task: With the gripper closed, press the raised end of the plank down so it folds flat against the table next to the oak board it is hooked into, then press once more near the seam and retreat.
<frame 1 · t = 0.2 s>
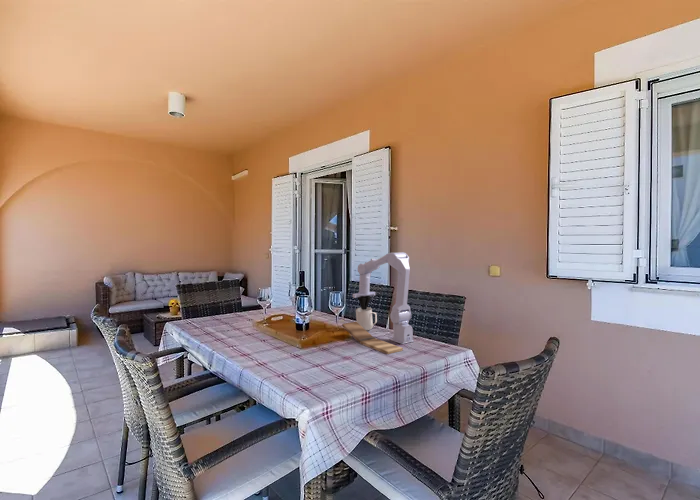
hand: (363, 309, 204), 11 cm above the table, tool pointing down, fingers closed, pressing on mug
mug: (367, 329, 204), on the table, touching gripper
plank: (357, 331, 186), point 3 cm above the table, hinge at 20.0°
oak board: (367, 341, 180), on the table
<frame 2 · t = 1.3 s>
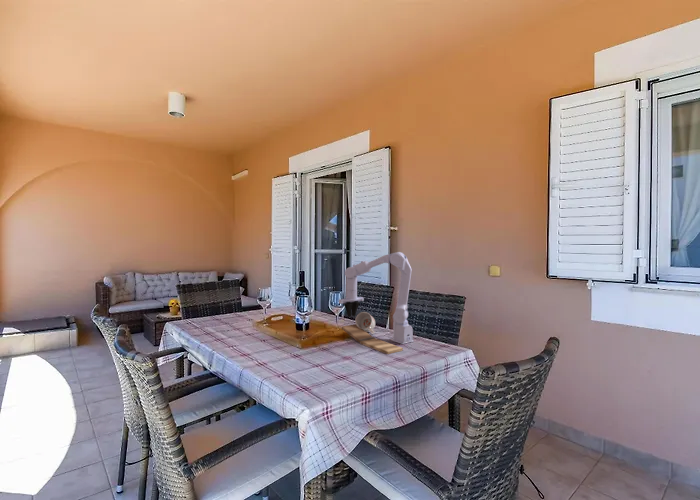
hand: (351, 316, 190), 10 cm above the table, tool pointing down, fingers closed
mug: (369, 325, 200), point 3 cm above the table, touching plank
plank: (357, 332, 186), point 3 cm above the table, hinge at 14.6°, touching mug
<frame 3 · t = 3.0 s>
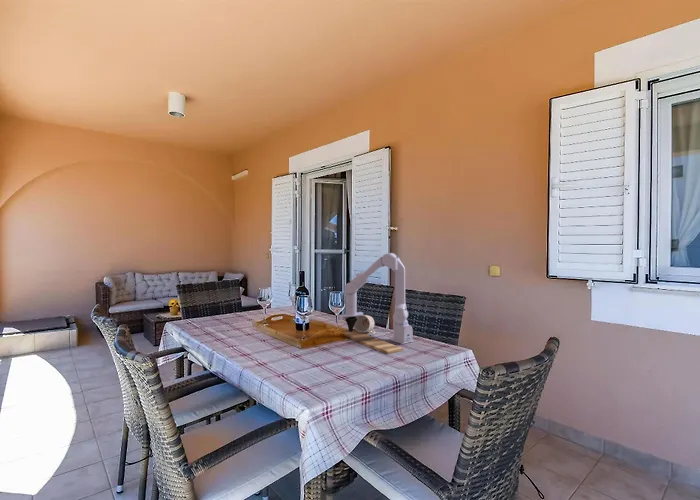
hand: (350, 331, 191), 2 cm above the table, tool pointing down, fingers closed, pressing on plank
mug: (369, 325, 200), point 3 cm above the table, touching gripper, plank
plank: (357, 335, 187), point 1 cm above the table, hinge at 4.9°, touching gripper, mug
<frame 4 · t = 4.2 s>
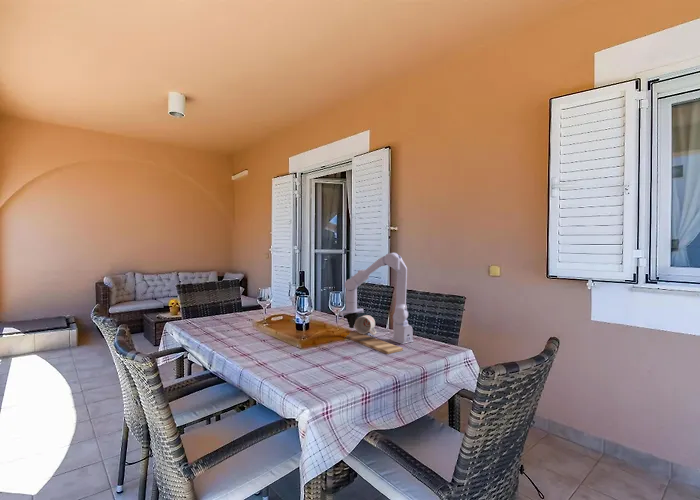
hand: (351, 327, 191), 4 cm above the table, tool pointing down, fingers closed
mug: (370, 324, 201), point 3 cm above the table, touching plank
plank: (357, 336, 187), point 1 cm above the table, hinge at -0.2°, touching mug
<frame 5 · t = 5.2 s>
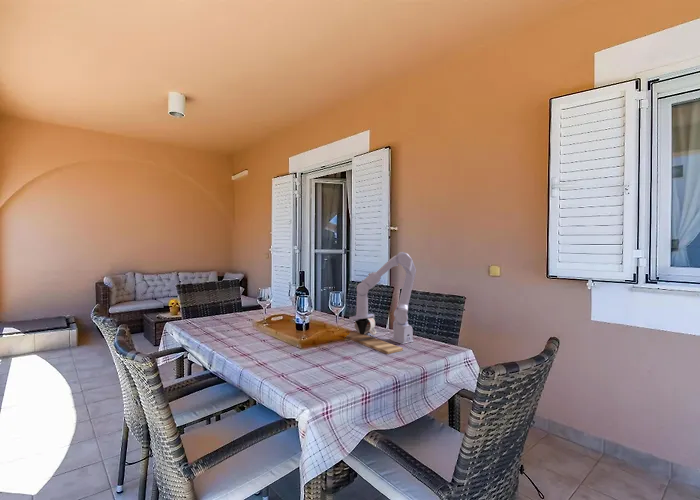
hand: (361, 333, 183), 3 cm above the table, tool pointing down, fingers closed
nothing on the table moved.
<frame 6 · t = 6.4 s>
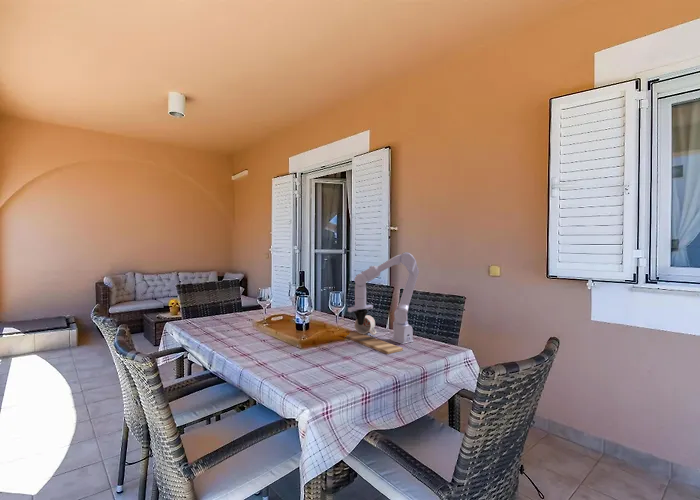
hand: (360, 324, 184), 7 cm above the table, tool pointing down, fingers closed
nothing on the table moved.
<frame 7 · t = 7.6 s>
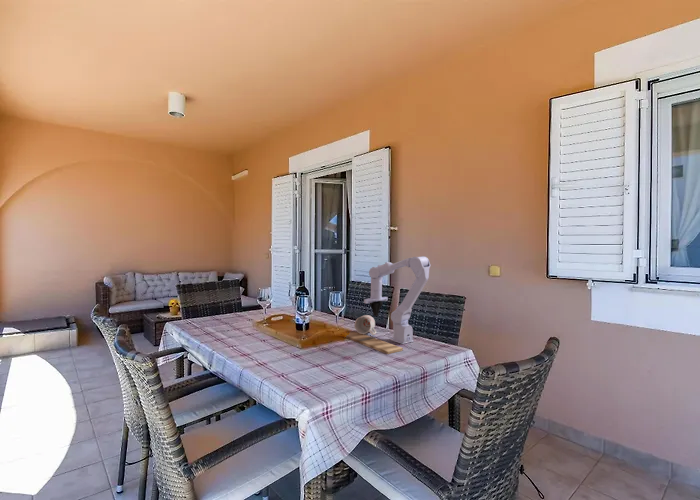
hand: (375, 315, 191), 10 cm above the table, tool pointing down, fingers closed
mug: (369, 324, 201), point 3 cm above the table
plank: (357, 336, 187), point 1 cm above the table, hinge at -0.2°
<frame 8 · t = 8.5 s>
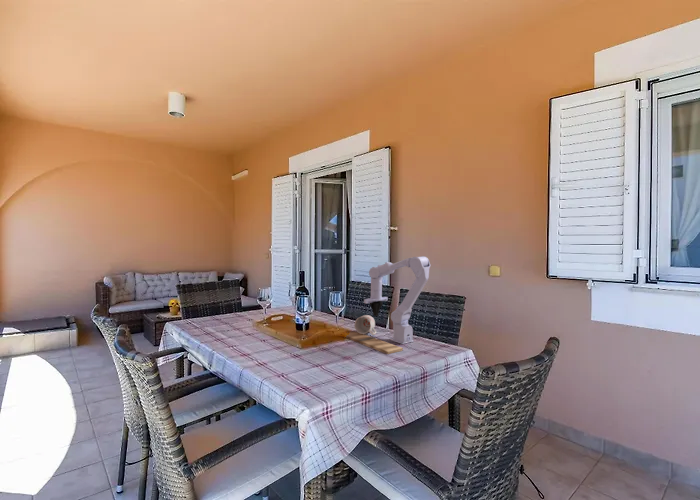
hand: (375, 315, 191), 10 cm above the table, tool pointing down, fingers closed
mug: (369, 324, 201), point 3 cm above the table, touching plank
plank: (357, 336, 187), point 1 cm above the table, hinge at -0.2°, touching mug
at the end: plank at +0° (first picture: +20°); the gripper is holding nothing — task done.
